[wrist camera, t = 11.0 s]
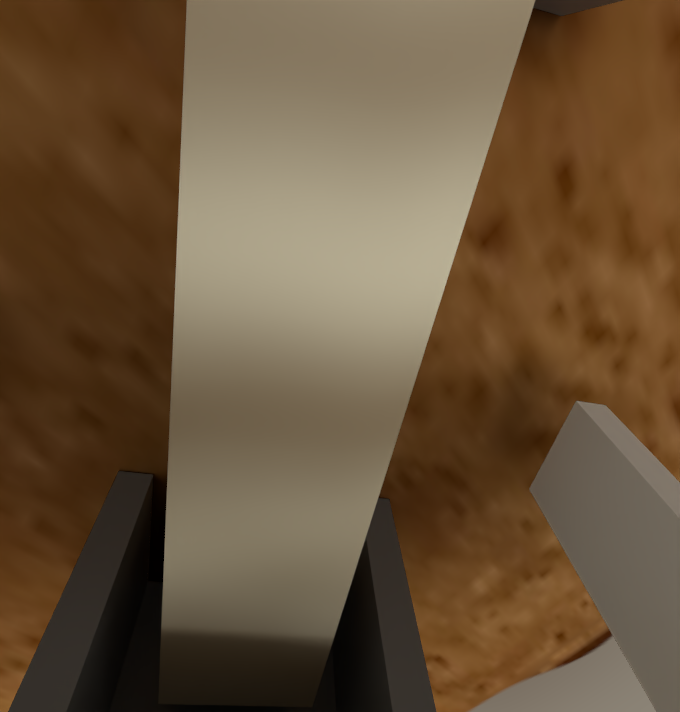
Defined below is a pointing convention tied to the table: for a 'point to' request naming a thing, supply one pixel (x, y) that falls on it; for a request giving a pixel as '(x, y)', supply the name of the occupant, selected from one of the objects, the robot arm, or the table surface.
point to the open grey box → (144, 617)
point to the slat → (306, 307)
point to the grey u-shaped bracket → (569, 5)
